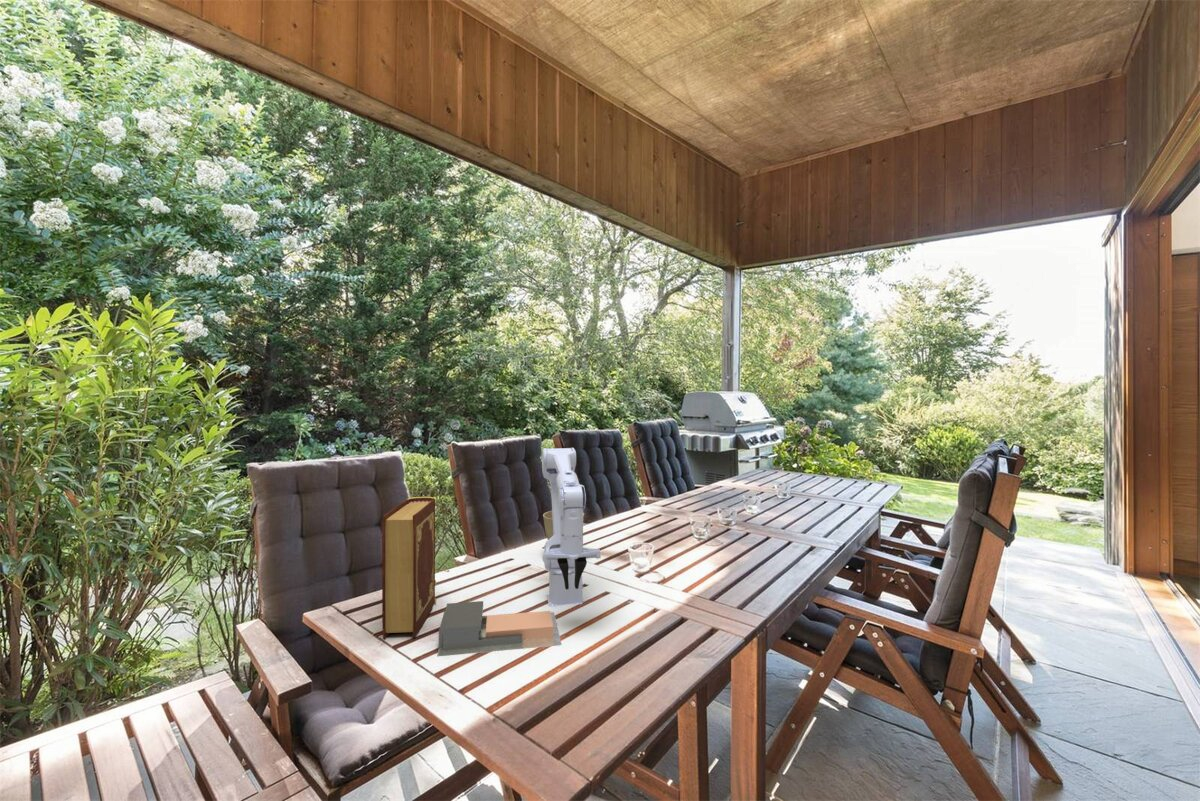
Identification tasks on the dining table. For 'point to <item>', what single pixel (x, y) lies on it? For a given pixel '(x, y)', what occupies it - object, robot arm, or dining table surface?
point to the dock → (481, 633)
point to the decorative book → (408, 565)
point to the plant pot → (549, 524)
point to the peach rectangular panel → (521, 625)
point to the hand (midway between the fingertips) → (571, 587)
